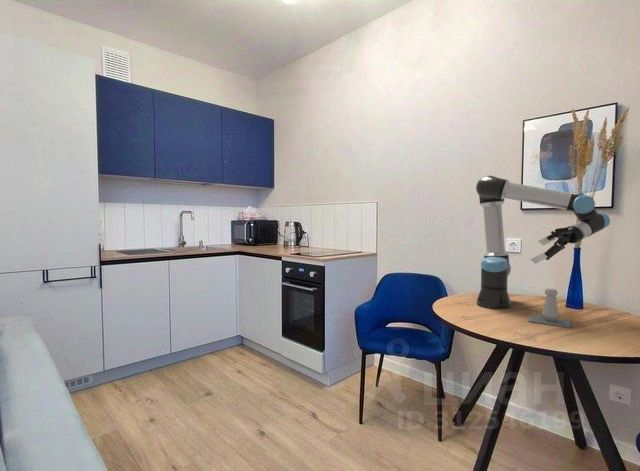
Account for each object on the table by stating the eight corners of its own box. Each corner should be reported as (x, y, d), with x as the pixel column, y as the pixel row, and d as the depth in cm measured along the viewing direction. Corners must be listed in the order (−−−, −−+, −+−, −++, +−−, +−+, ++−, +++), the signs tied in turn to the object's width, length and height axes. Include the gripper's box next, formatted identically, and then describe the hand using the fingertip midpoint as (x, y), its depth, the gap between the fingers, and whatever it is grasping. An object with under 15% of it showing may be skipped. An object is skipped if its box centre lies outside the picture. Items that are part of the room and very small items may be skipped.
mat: (528, 321, 142) (528, 320, 142) (531, 315, 151) (531, 314, 151) (570, 328, 133) (570, 326, 133) (570, 321, 143) (570, 319, 143)
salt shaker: (542, 320, 141) (543, 289, 141) (541, 317, 146) (542, 287, 146) (559, 323, 138) (560, 291, 138) (558, 319, 143) (559, 288, 143)
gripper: (593, 219, 145) (551, 240, 143) (574, 254, 164) (536, 273, 162) (578, 209, 150) (537, 229, 148) (560, 244, 169) (524, 262, 167)
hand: (537, 252), depth 155 cm, fingers open, 13 cm apart
